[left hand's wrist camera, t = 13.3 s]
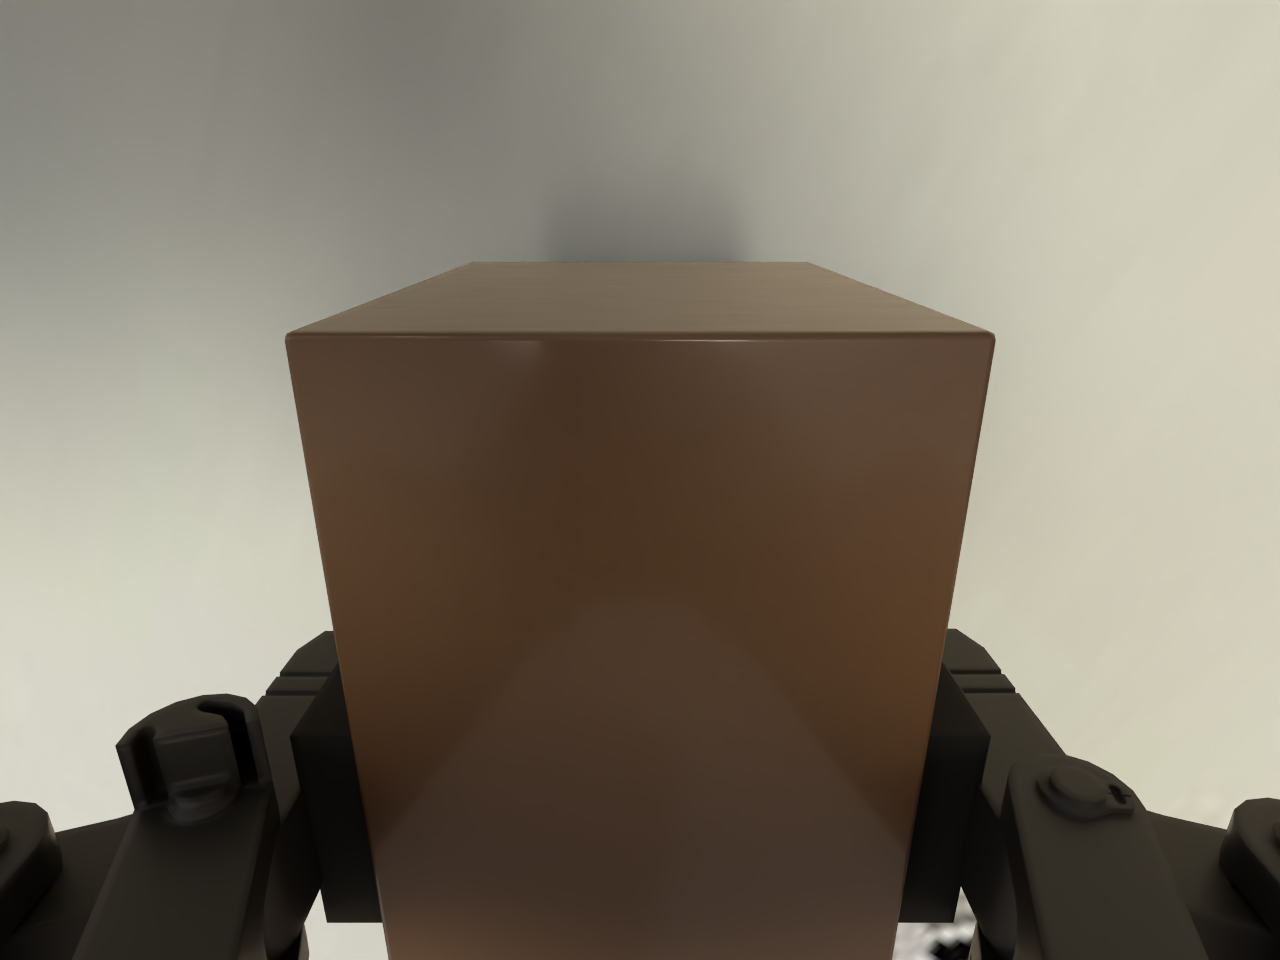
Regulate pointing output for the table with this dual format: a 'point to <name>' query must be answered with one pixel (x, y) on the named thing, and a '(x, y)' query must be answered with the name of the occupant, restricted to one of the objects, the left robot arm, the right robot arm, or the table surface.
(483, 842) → the beam
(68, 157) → the table surface
